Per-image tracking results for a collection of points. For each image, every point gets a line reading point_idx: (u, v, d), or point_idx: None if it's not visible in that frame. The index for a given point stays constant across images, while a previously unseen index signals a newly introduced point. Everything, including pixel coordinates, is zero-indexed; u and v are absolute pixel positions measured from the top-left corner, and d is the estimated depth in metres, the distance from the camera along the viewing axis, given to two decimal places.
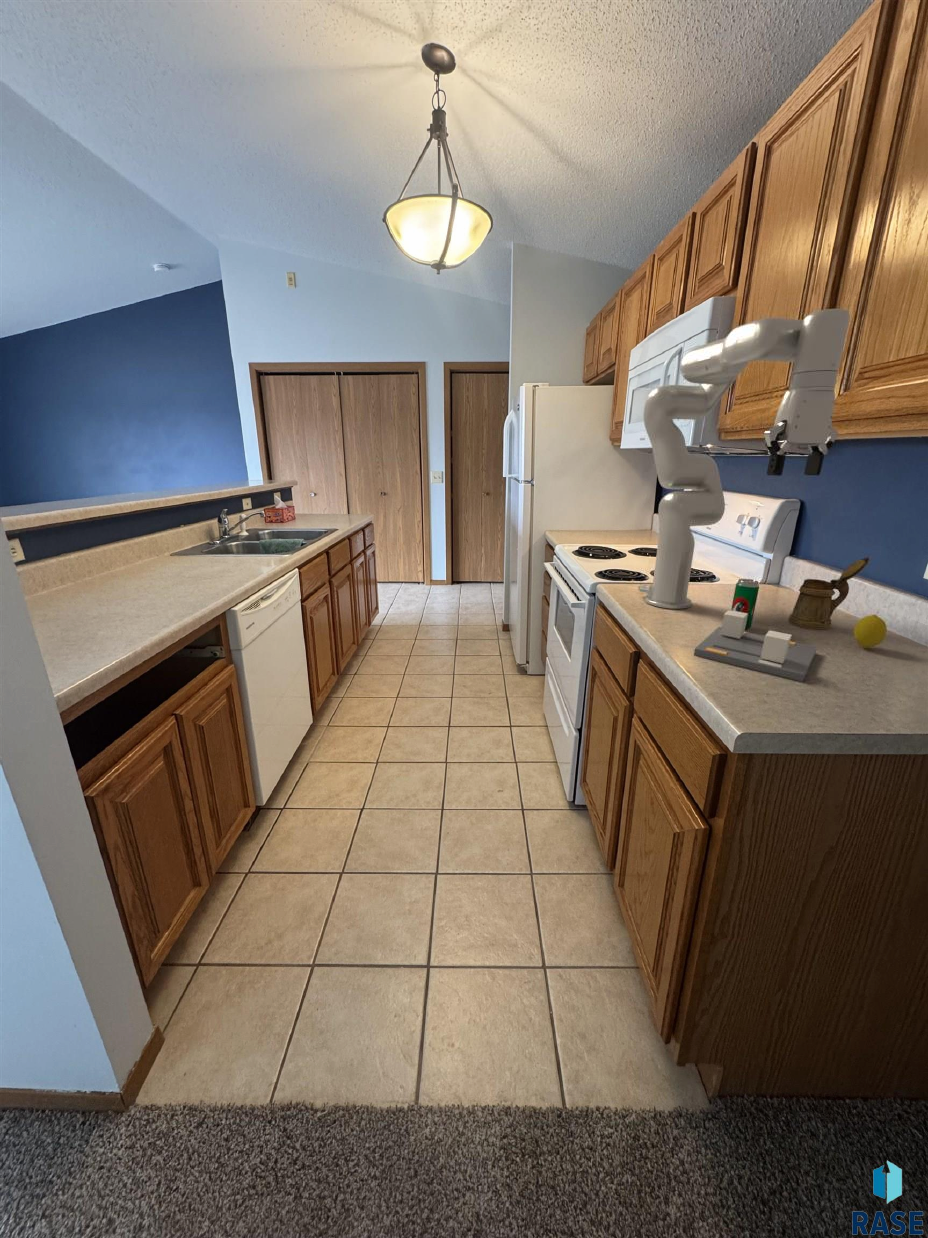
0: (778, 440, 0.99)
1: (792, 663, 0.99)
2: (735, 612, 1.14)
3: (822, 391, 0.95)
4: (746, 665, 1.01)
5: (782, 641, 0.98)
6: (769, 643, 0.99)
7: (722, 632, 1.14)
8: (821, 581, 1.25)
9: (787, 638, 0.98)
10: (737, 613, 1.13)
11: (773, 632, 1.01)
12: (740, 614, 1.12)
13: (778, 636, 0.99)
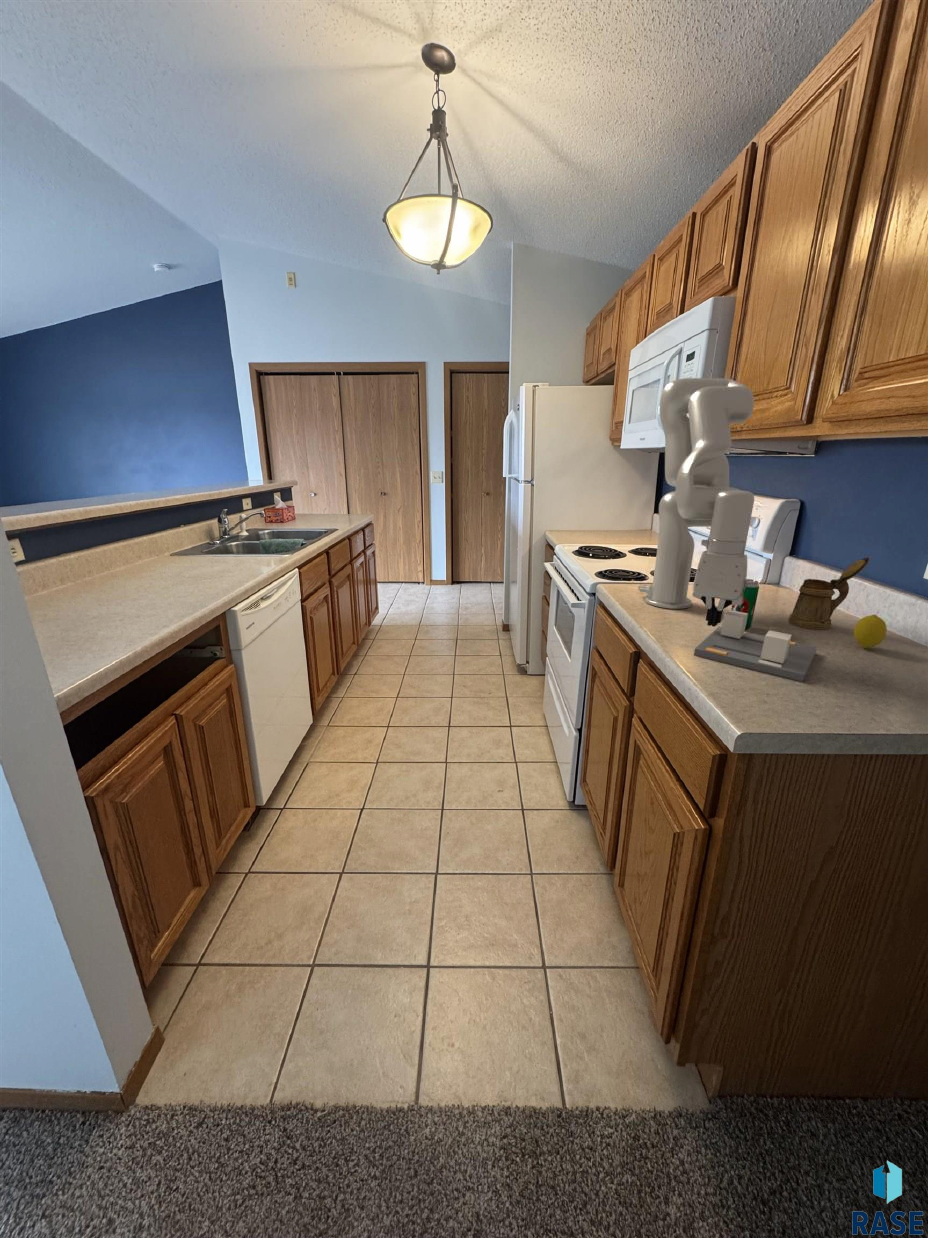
0: None
1: (792, 663, 0.99)
2: (735, 612, 1.14)
3: None
4: (746, 665, 1.01)
5: (782, 641, 0.98)
6: (769, 643, 0.99)
7: (722, 632, 1.14)
8: (821, 581, 1.25)
9: (787, 638, 0.98)
10: (737, 613, 1.13)
11: (773, 632, 1.01)
12: (740, 614, 1.12)
13: (778, 636, 0.99)
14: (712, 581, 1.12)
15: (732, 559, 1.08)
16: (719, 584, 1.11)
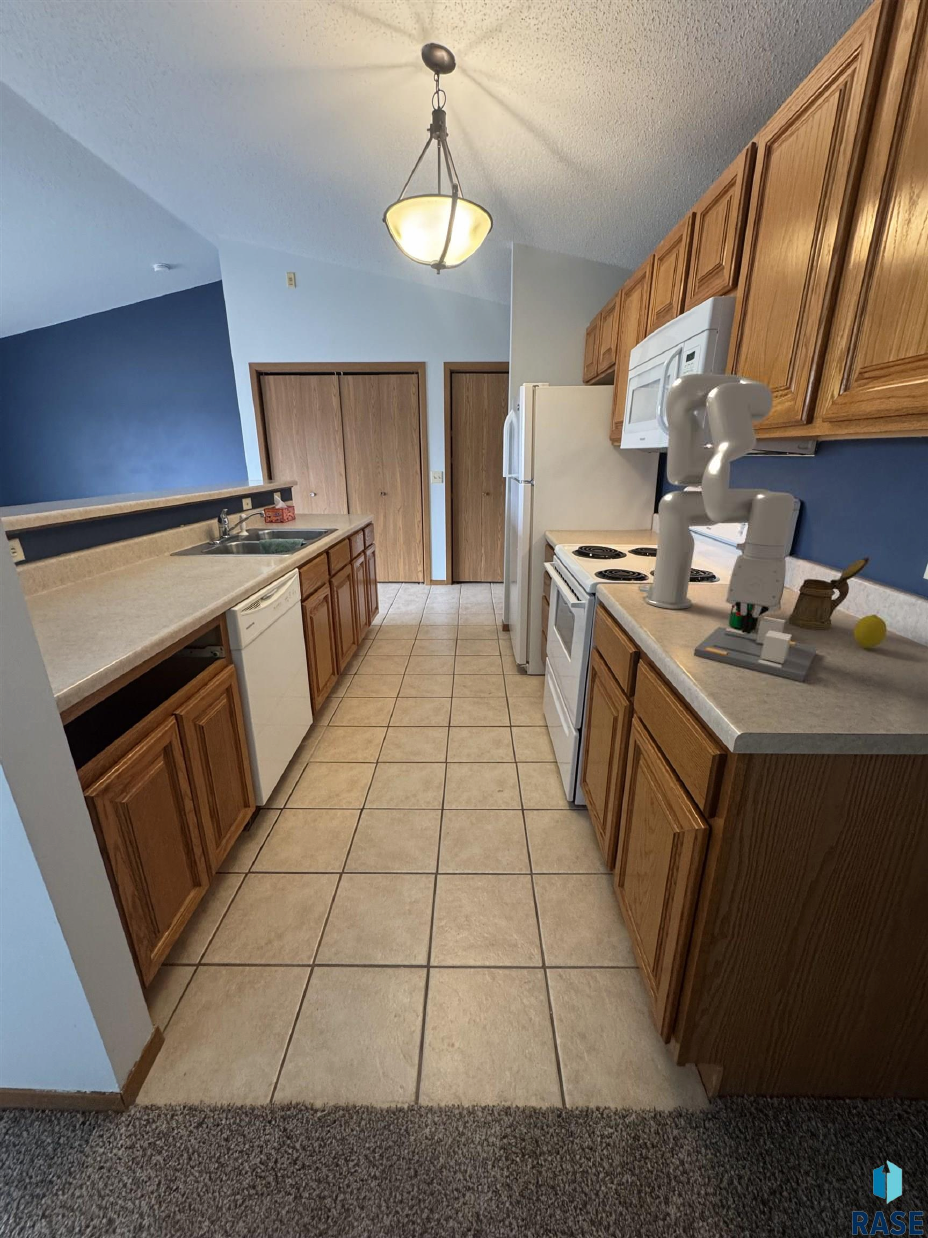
0: None
1: (792, 663, 0.99)
2: (771, 619, 1.09)
3: None
4: (746, 665, 1.01)
5: (782, 641, 0.98)
6: (769, 643, 0.99)
7: (758, 640, 1.09)
8: (821, 581, 1.25)
9: (787, 638, 0.98)
10: (774, 620, 1.08)
11: (773, 632, 1.01)
12: (777, 621, 1.08)
13: (778, 636, 0.99)
14: (748, 587, 1.07)
15: (770, 564, 1.04)
16: (756, 590, 1.06)
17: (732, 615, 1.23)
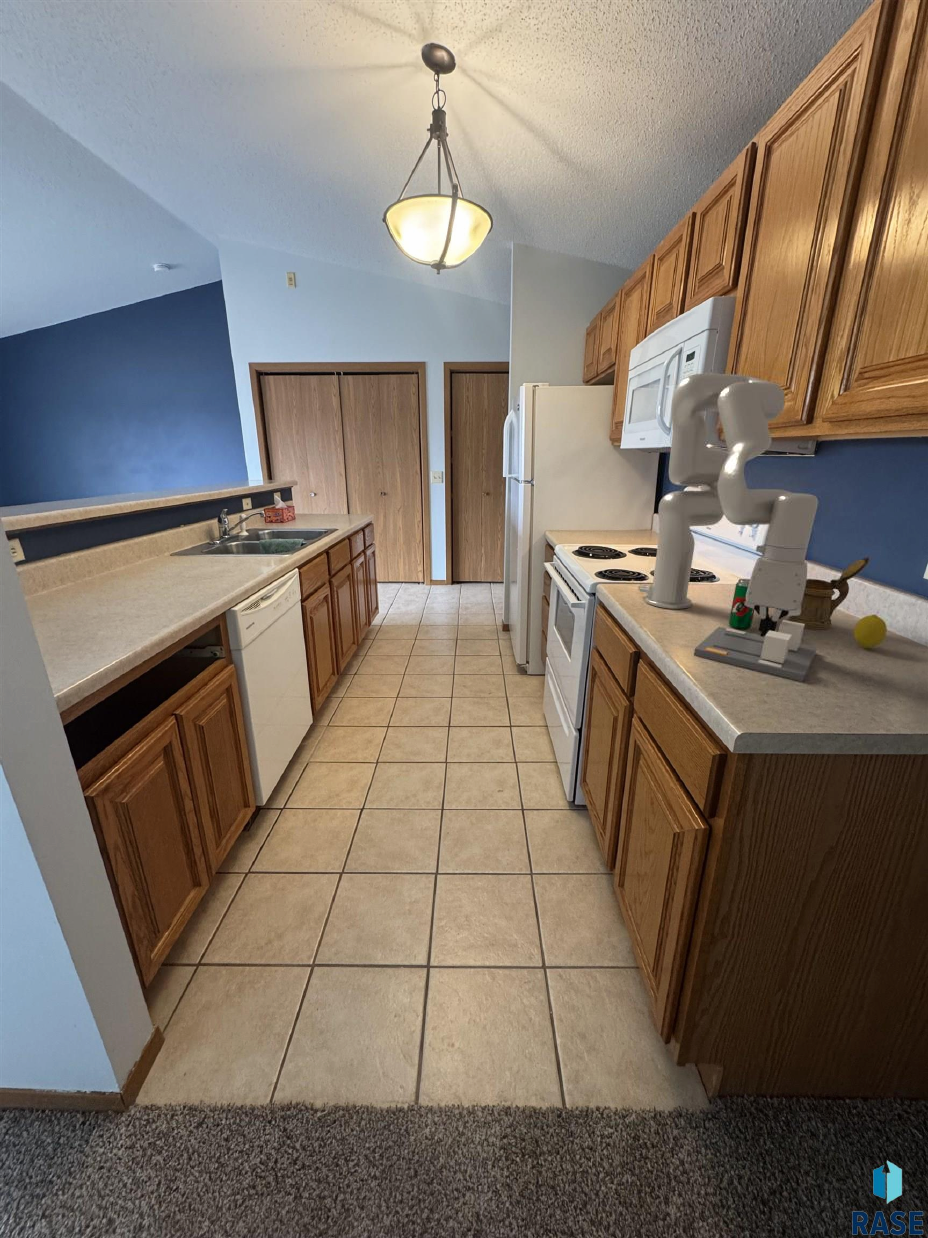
0: None
1: (792, 663, 0.99)
2: (791, 622, 1.07)
3: None
4: (746, 665, 1.01)
5: (782, 641, 0.98)
6: (769, 643, 0.99)
7: None
8: (821, 581, 1.25)
9: (787, 638, 0.98)
10: (793, 624, 1.06)
11: (773, 632, 1.01)
12: (797, 624, 1.06)
13: (778, 636, 0.99)
14: (768, 590, 1.05)
15: (791, 567, 1.01)
16: (776, 593, 1.04)
17: (732, 615, 1.23)
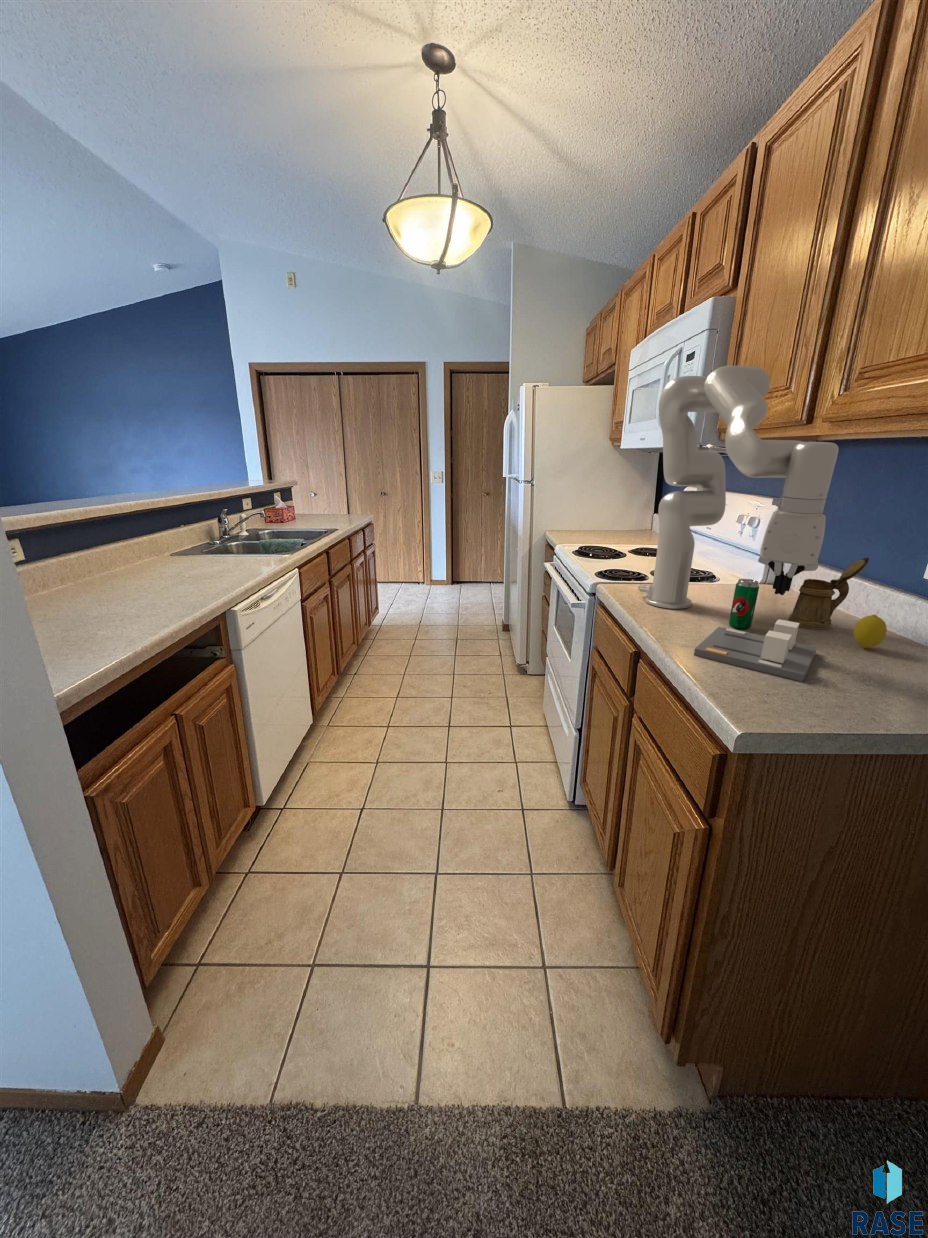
0: None
1: (792, 663, 0.99)
2: (786, 621, 1.07)
3: None
4: (746, 665, 1.01)
5: (782, 641, 0.98)
6: (769, 643, 0.99)
7: None
8: (821, 581, 1.25)
9: (787, 638, 0.98)
10: (788, 623, 1.07)
11: (773, 632, 1.01)
12: (792, 623, 1.06)
13: (778, 636, 0.99)
14: (784, 544, 1.01)
15: (809, 519, 0.97)
16: (792, 547, 1.00)
17: (732, 615, 1.23)
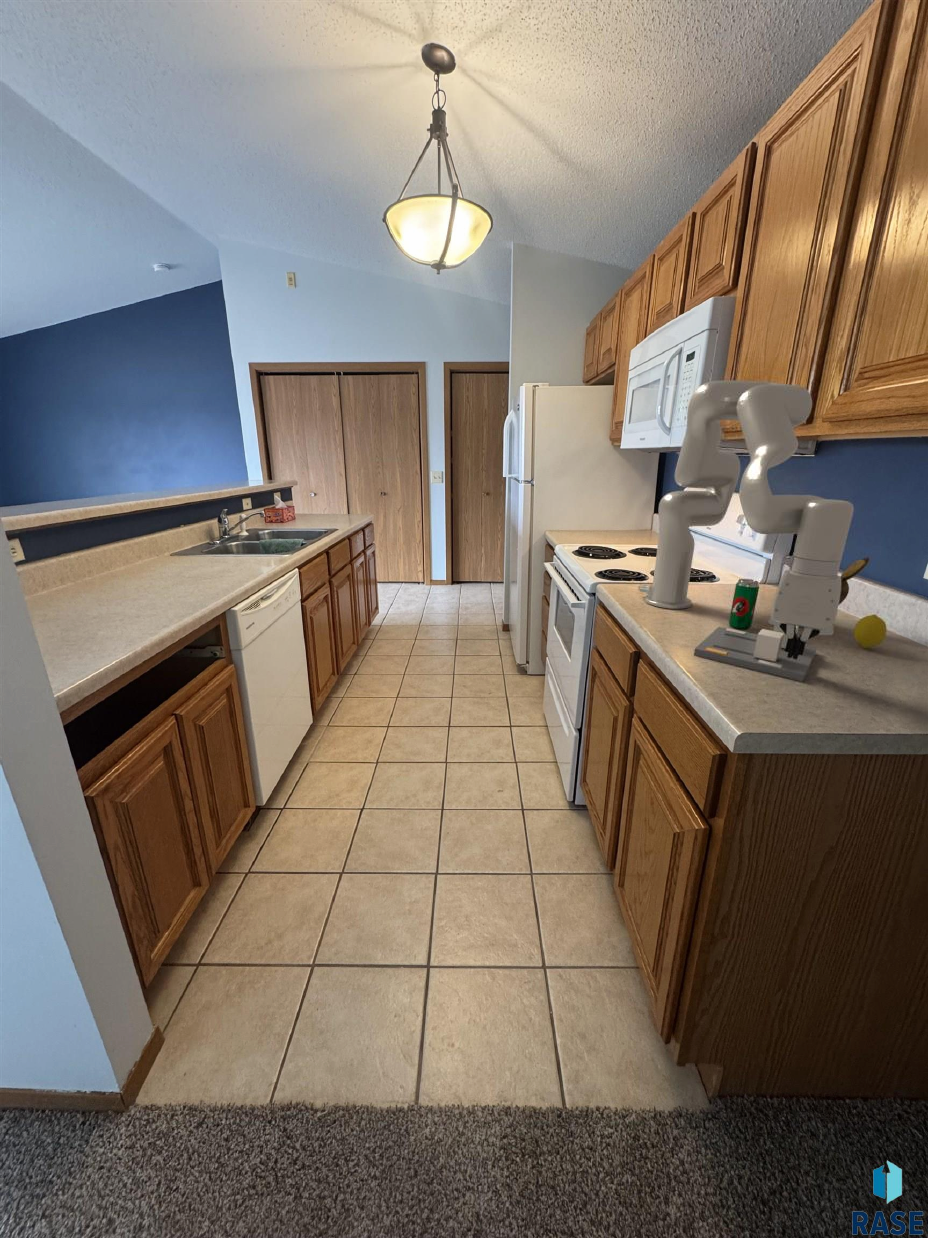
0: None
1: (792, 663, 0.99)
2: None
3: None
4: (746, 665, 1.01)
5: (774, 640, 0.99)
6: (762, 642, 1.00)
7: None
8: None
9: (779, 636, 0.99)
10: None
11: (766, 630, 1.02)
12: None
13: (770, 634, 1.00)
14: (797, 607, 0.94)
15: (824, 582, 0.90)
16: (806, 611, 0.93)
17: (732, 615, 1.23)
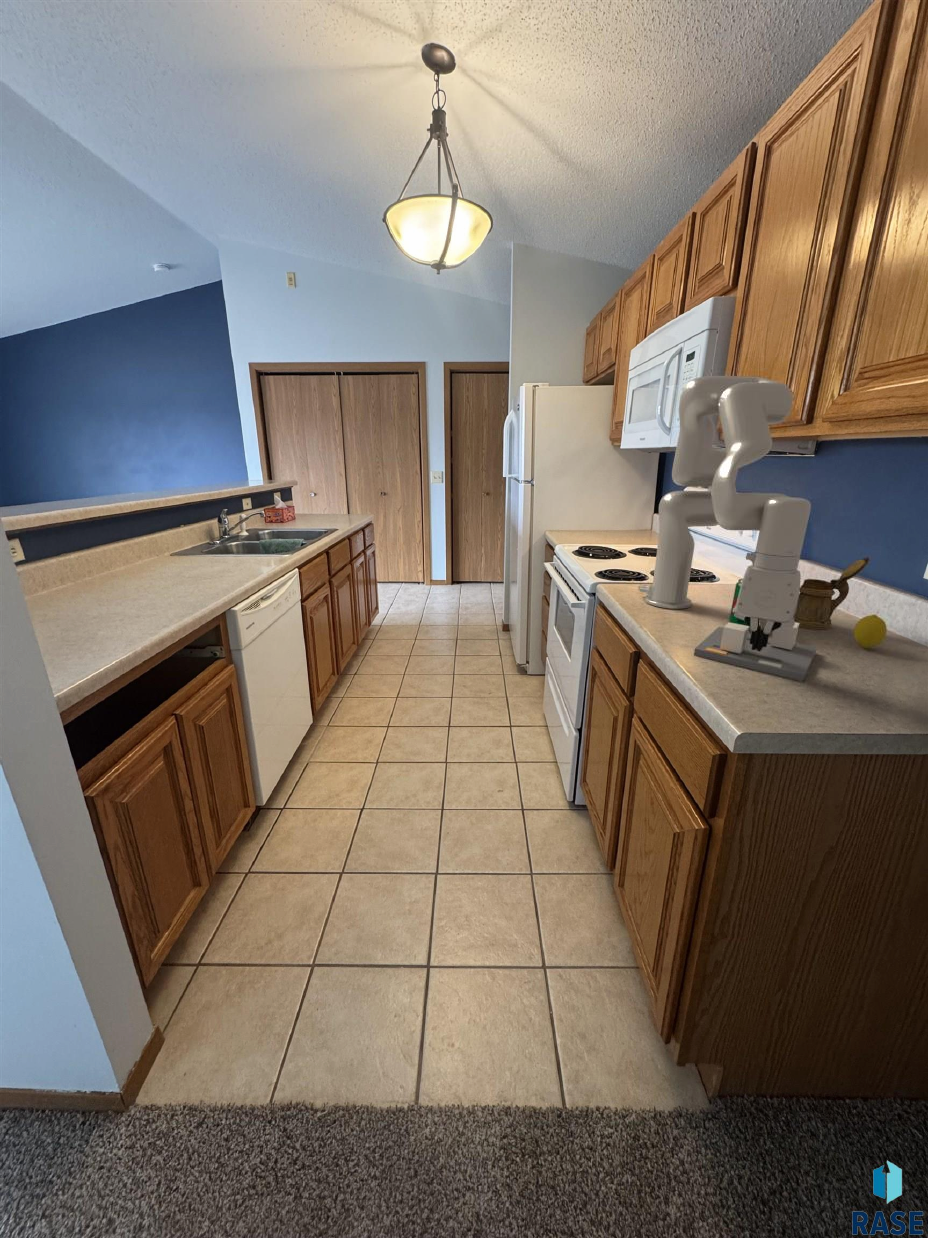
0: None
1: (792, 663, 0.99)
2: None
3: None
4: (746, 665, 1.01)
5: (739, 632, 1.02)
6: (728, 634, 1.04)
7: (772, 643, 1.07)
8: (821, 581, 1.25)
9: (744, 629, 1.03)
10: None
11: (732, 624, 1.06)
12: None
13: (736, 627, 1.04)
14: (759, 600, 0.98)
15: (783, 576, 0.94)
16: (767, 604, 0.97)
17: (732, 615, 1.23)
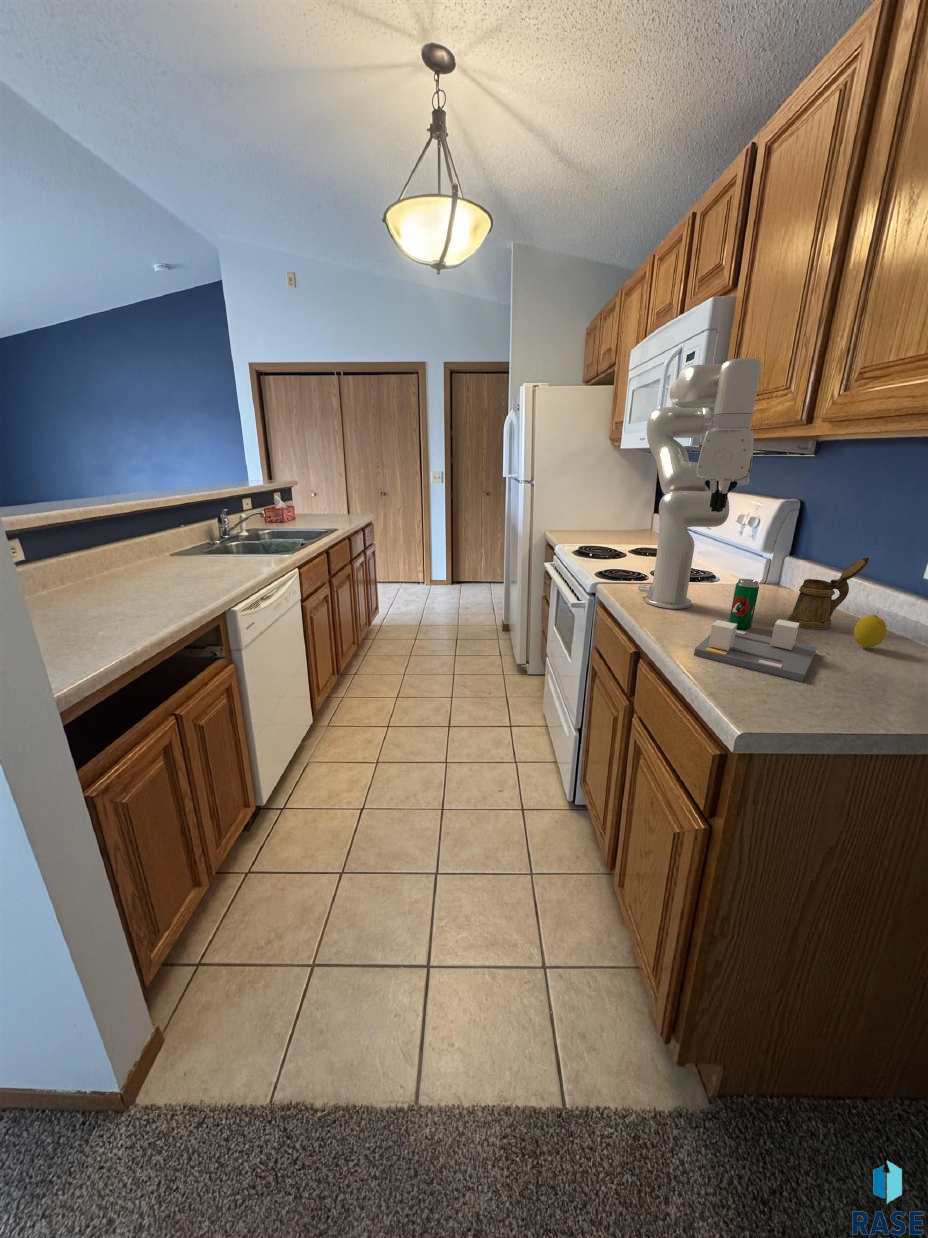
0: None
1: (792, 663, 0.99)
2: (786, 621, 1.07)
3: None
4: (746, 665, 1.01)
5: (727, 630, 1.04)
6: (716, 632, 1.05)
7: (772, 643, 1.07)
8: (821, 581, 1.25)
9: (732, 627, 1.04)
10: (788, 623, 1.07)
11: (720, 621, 1.07)
12: (792, 623, 1.06)
13: (723, 625, 1.05)
14: (717, 460, 1.07)
15: (737, 433, 1.03)
16: (724, 463, 1.06)
17: (732, 615, 1.23)
